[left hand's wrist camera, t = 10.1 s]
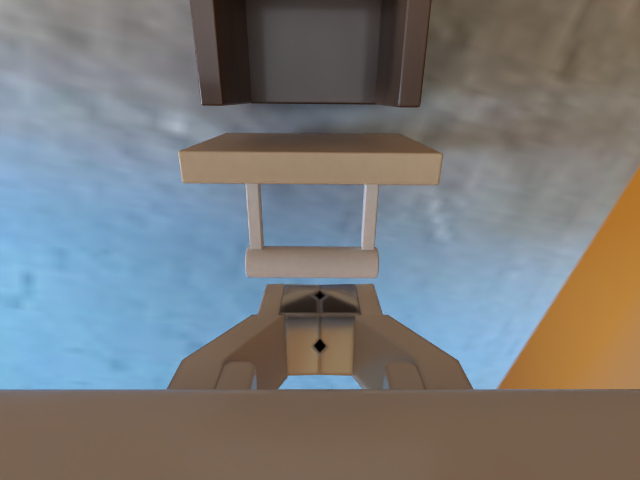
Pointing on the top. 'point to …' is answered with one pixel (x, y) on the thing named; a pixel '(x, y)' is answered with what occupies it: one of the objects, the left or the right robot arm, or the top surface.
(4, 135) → the top surface
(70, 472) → the left robot arm
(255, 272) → the drawer
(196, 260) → the top surface
